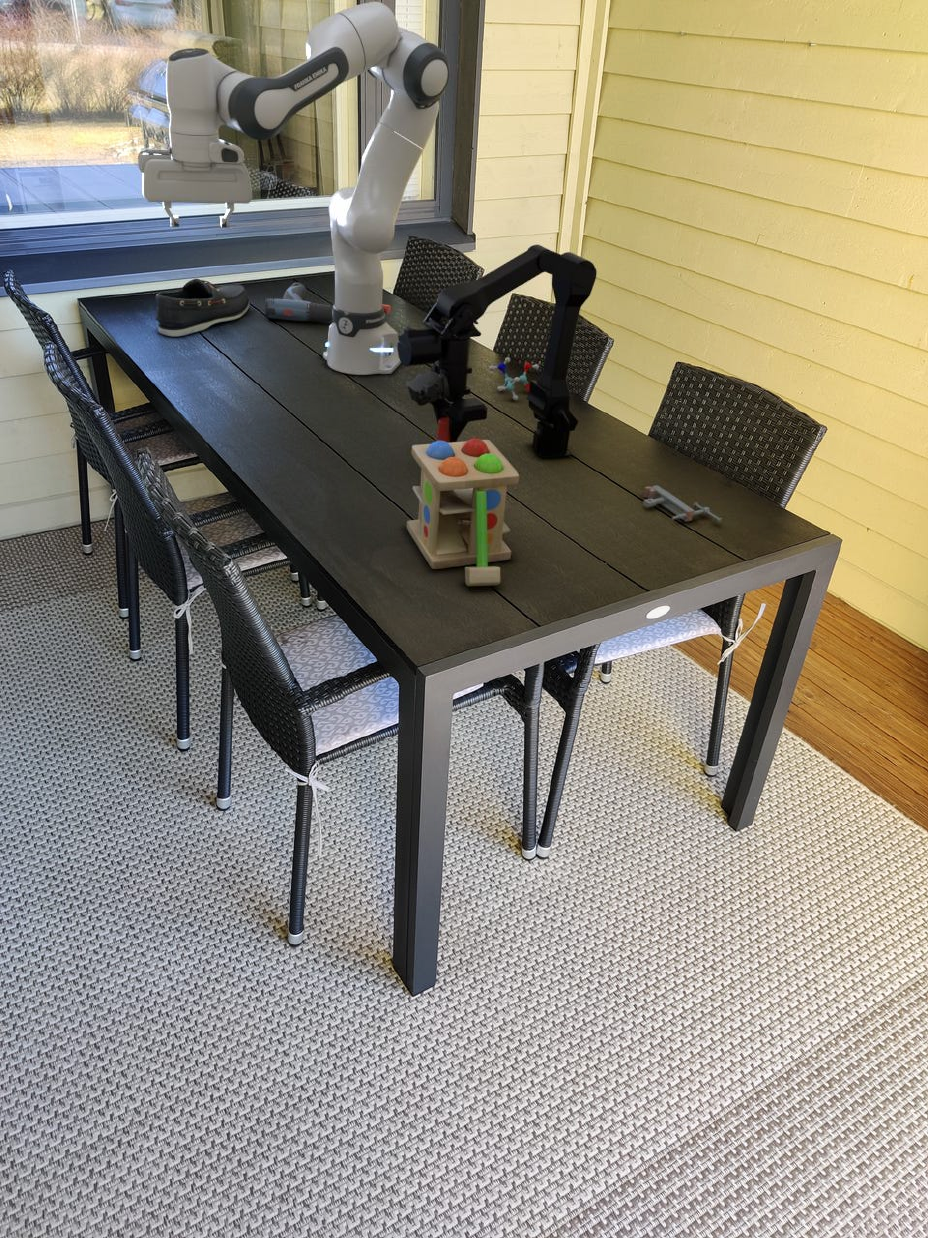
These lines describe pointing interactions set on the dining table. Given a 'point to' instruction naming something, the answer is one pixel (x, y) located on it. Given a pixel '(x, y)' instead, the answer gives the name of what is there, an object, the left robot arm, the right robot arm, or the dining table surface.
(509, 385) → the molecular model
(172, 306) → the boat shoe
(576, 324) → the right robot arm
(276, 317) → the power drill
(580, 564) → the dining table surface
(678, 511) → the clamp
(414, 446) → the pounding bench toy
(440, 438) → the can
